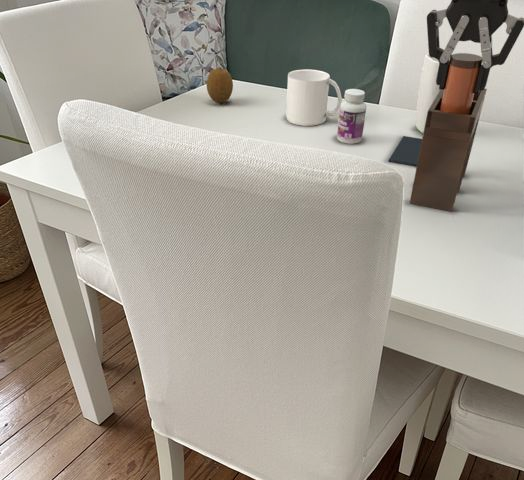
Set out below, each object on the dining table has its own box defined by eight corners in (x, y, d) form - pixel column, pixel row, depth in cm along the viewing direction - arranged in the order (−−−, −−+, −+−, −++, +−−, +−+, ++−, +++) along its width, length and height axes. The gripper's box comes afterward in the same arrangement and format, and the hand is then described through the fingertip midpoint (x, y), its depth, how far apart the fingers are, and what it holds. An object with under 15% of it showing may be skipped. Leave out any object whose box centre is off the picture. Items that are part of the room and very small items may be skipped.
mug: (280, 122, 127) (281, 78, 121) (293, 110, 134) (295, 67, 127) (331, 130, 124) (336, 85, 118) (343, 117, 130) (347, 74, 124)
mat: (439, 143, 119) (439, 141, 119) (427, 168, 109) (427, 166, 109) (403, 137, 121) (403, 135, 121) (388, 161, 111) (388, 159, 111)
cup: (408, 126, 126) (422, 53, 117) (439, 125, 127) (455, 52, 118) (421, 138, 121) (436, 63, 111) (453, 137, 122) (471, 61, 112)
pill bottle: (331, 139, 120) (335, 91, 114) (347, 133, 123) (352, 85, 117) (351, 146, 117) (357, 97, 111) (367, 140, 120) (373, 91, 114)
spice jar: (469, 116, 92) (484, 55, 86) (466, 125, 89) (481, 62, 83) (440, 112, 93) (452, 51, 87) (435, 121, 90) (448, 59, 84)
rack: (464, 175, 107) (486, 88, 97) (451, 211, 96) (475, 117, 86) (426, 169, 109) (444, 83, 99) (409, 203, 98) (427, 110, 88)
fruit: (207, 99, 139) (205, 63, 134) (232, 98, 139) (231, 63, 134) (207, 107, 134) (206, 71, 129) (234, 107, 135) (233, 70, 130)
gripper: (430, -43, 76) (408, 91, 88) (544, -36, 72) (505, 103, 83) (440, -49, 82) (417, 78, 93) (546, -43, 78) (509, 89, 89)
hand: (459, 89), depth 88 cm, fingers closed on spice jar, 4 cm apart
